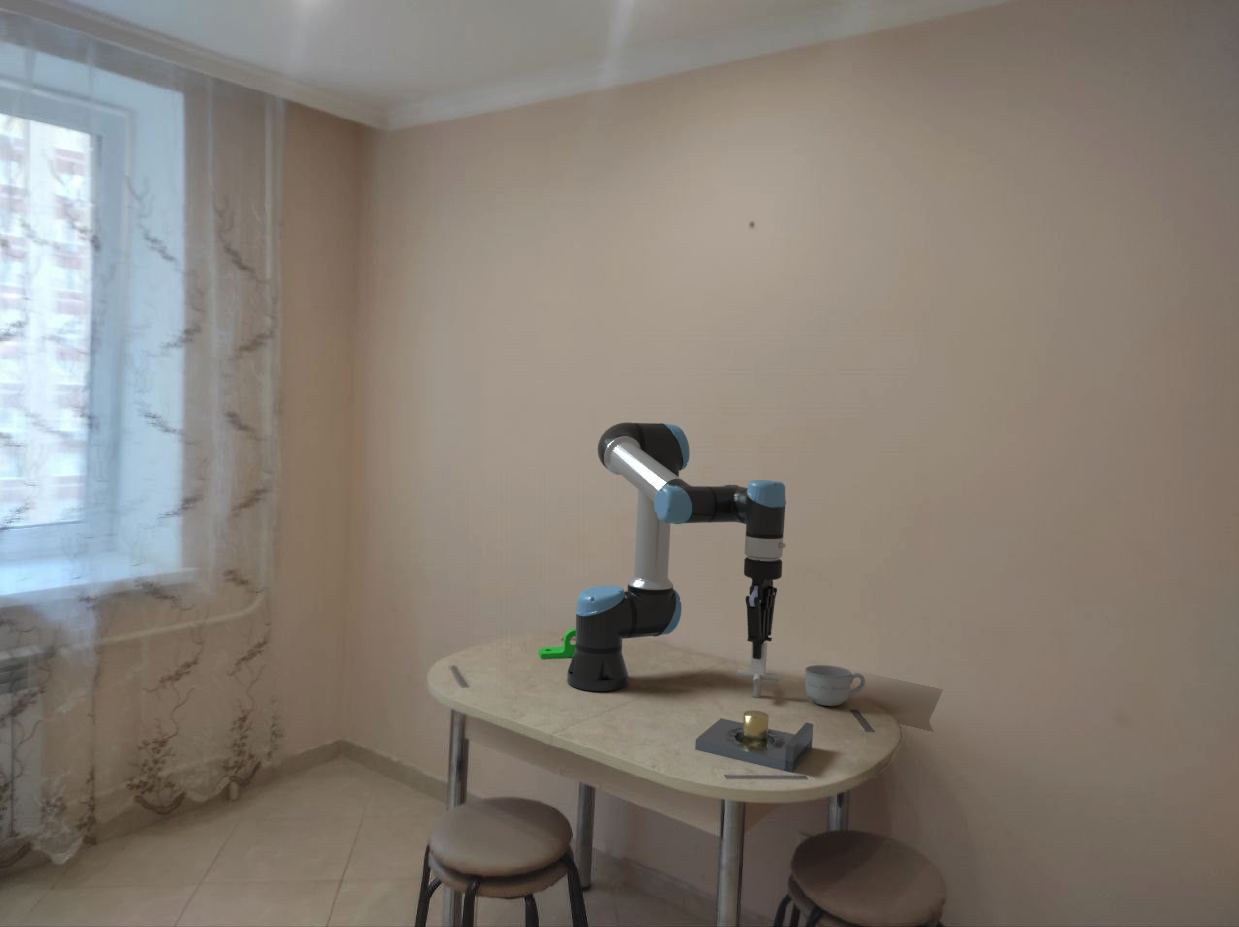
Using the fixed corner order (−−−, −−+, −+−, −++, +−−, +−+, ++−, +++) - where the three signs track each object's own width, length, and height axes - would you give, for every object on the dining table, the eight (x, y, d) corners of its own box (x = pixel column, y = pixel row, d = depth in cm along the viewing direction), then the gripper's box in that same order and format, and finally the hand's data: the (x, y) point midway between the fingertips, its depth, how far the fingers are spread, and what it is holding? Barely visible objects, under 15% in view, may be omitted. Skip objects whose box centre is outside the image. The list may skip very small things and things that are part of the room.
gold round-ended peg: (738, 749, 168) (740, 715, 167) (746, 741, 172) (748, 708, 172) (762, 755, 165) (764, 721, 165) (770, 747, 170) (771, 713, 169)
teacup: (800, 705, 195) (802, 672, 195) (806, 692, 205) (808, 660, 205) (861, 715, 190) (863, 680, 190) (865, 700, 201) (866, 668, 200)
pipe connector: (777, 705, 195) (779, 663, 194) (734, 700, 197) (736, 659, 196) (778, 691, 205) (780, 651, 204) (737, 687, 207) (739, 648, 206)
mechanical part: (579, 652, 232) (580, 624, 232) (584, 659, 226) (585, 630, 226) (536, 654, 229) (537, 626, 228) (540, 661, 223) (541, 631, 223)
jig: (695, 748, 167) (696, 724, 167) (720, 727, 180) (721, 704, 179) (792, 772, 158) (793, 746, 158) (812, 747, 170) (813, 723, 170)
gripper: (771, 564, 159) (765, 685, 160) (791, 555, 170) (785, 668, 172) (734, 559, 162) (729, 678, 164) (756, 551, 174) (751, 662, 175)
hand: (758, 673), depth 168 cm, fingers closed
